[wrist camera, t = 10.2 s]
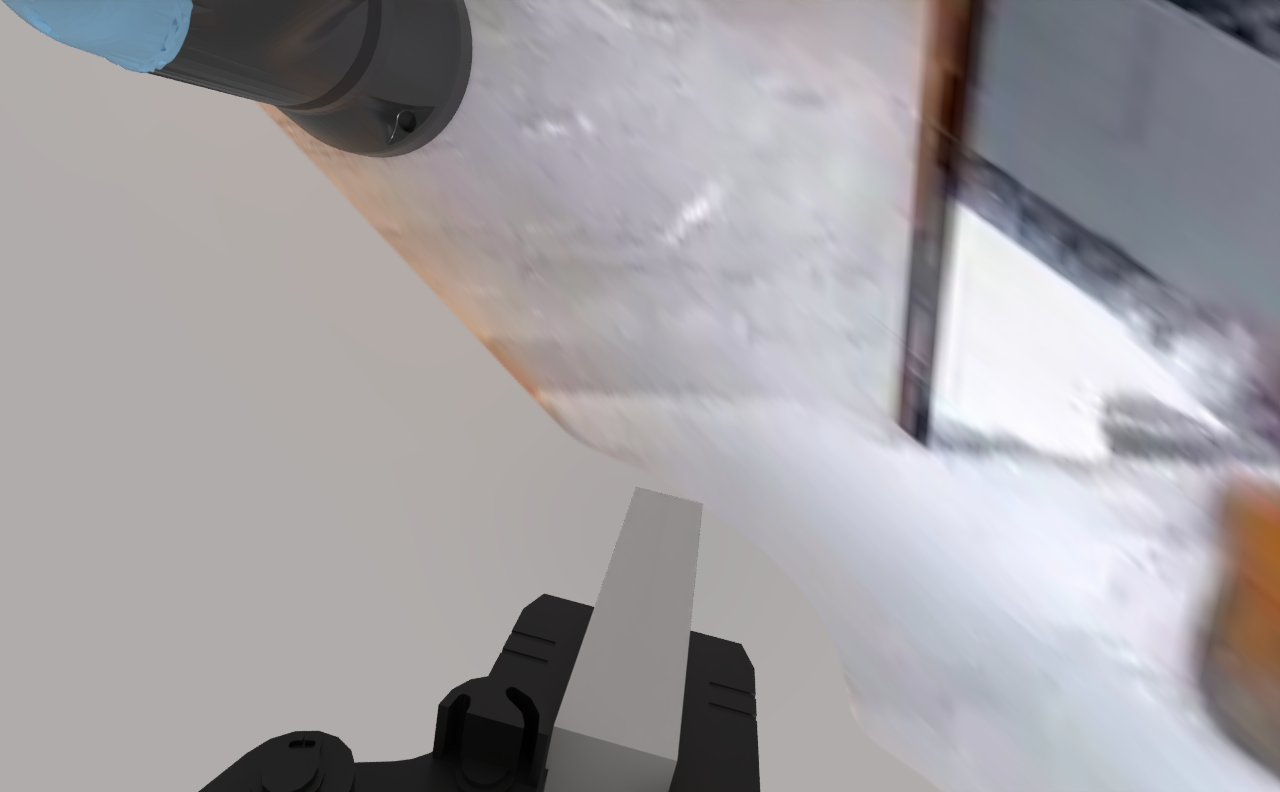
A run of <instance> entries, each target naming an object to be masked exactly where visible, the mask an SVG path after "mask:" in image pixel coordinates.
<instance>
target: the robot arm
mask: <svg viewBox="0 0 1280 792" xmlns="http://www.w3.org/2000/svg"><path fill="white" fill-rule="evenodd" d="M2 1H3V2H4V3H5V4H6V5H7V6H8V7H9V8H11V10H13V11H14V12H15V13H16V14H17V15H18V16H19V17H20V18H22V19H23V20H24V21H26V22H27V23H28V24H30V25H31V26H32V27H34V28H35V29H37V30H39V31H40V32H42V33H44V34H45V35H47V36H49V37H51V38H53V39H55V40H56V41H59V42H61V43H63V44H66V45H68V46H71V47H74V48H77V49H80V50H83V51H86V52H89V53H92V54H95V55H98V56H101V57H103V58H106V59H107V60H109V61H110V62H112V63H114V64H116V65H119V66H121V67H123V68H125V69H127V70H130V71H135V72H140V73H149V74H153V75H157V76H161V77H165V78H169V79H173V80H177V81H181V82H184V83H188V84H193V85H196V86H200V87H205V88H208V89H212V90H216V91H220V92H224V93H228V94H232V95H235V96H239V97H244V98H247V99H251V100H255V101H259V102H263V103H267V104H271V105H274V106H275V107H277V108H278V109H279V110H280V111H281V112H283V113H284V114H285V115H286V116H288V117H289V118H290V119H291V120H292V121H294V122H295V123H296V124H297V125H299V126H300V127H301V128H302V129H303V130H305V131H306V132H307V133H309V134H310V135H312V136H313V137H315V138H316V139H318V140H320V141H321V142H323V143H325V144H327V145H330V146H332V147H334V148H337V149H339V150H342V151H346V152H350V153H354V154H359V155H364V156H369V157H393V156H399V155H403V154H406V153H409V152H412V151H414V150H416V149H418V148H420V147H422V146H424V145H425V144H427V143H428V142H430V141H431V140H432V139H434V138H435V137H436V136H437V135H438V134H439V133H440V132H441V131H442V130H443V129H444V128H445V127H446V126H447V124H448V123H449V122H450V121H451V119H452V118H453V116H454V115H455V113H456V111H457V109H458V108H459V106H460V103H461V101H462V99H463V96H464V94H465V91H466V88H467V85H468V81H469V76H470V70H471V63H472V35H471V27H470V21H469V17H468V13H467V9H466V6H465V3H464V0H2ZM702 506H703V504H702V503H698V502H694V501H690V500H686V499H682V498H678V497H674V496H670V495H666V494H662V493H658V492H654V491H650V490H646V489H642V488H638V487H636V488H635V491H634V494H633V497H632V500H631V503H630V506H629V509H628V511H627V514H626V518H625V520H624V523H623V526H622V529H621V532H620V535H619V538H618V541H617V543H616V546H615V549H614V552H613V555H612V558H611V561H610V564H609V567H608V570H607V573H606V575H605V579H604V581H603V584H602V587H601V590H600V593H599V596H598V599H597V602H596V604H595V607H592V606H589V605H585V604H581V603H577V602H574V601H570V600H566V599H562V598H559V597H554V596H551V595H547V594H543V595H542V596H540V597H539V598H537V599H536V600H535V601H533V602H532V603H531V604H529V605H528V606H527V607H525V608H524V609H523V610H522V612H521V615H520V616H519V618H518V620H517V622H516V624H515V626H514V628H513V630H512V633H511V635H510V636H509V637H508V640H507V641H506V643H505V645H504V647H503V650H502V653H500V655H499V657H498V659H497V660H496V662H495V664H494V666H493V668H492V670H491V672H490V674H489V676H487V677H482V678H476V679H471V680H469V681H467V682H465V683H463V684H461V685H459V686H458V687H456V688H454V689H452V690H451V691H450V692H449V694H448V695H447V696H446V697H445V698H444V699H443V700H442V701H441V702H440V704H439V706H438V714H437V723H436V731H435V740H434V747H433V752H431V753H429V754H426V755H423V756H420V757H417V758H414V759H410V760H402V761H391V762H358V763H354V759H353V755H352V751H351V750H350V749H349V748H348V747H347V746H346V745H345V744H344V743H343V742H342V741H341V740H340V739H339V738H338V737H336V736H332V735H330V734H327V733H324V732H321V731H295V732H291V733H288V734H285V735H282V736H278V737H275V738H272V739H270V740H268V741H266V742H264V743H263V744H261V745H259V746H258V747H256V748H254V749H253V750H251V751H250V752H248V753H247V754H245V755H244V756H243V757H241V758H240V759H239V760H238V761H236V762H235V763H234V764H233V765H232V766H230V767H229V768H228V769H226V770H225V771H224V772H223V773H221V774H220V775H219V776H218V777H216V778H215V779H214V780H213V781H211V782H210V783H209V784H207V785H206V786H205V787H204V788H203V789H201V790H200V791H199V792H760V777H759V756H758V735H757V721H756V716H757V714H756V699H755V672H754V667H753V665H752V663H751V661H750V660H749V658H748V656H747V654H746V652H745V650H744V648H743V646H742V644H739V643H735V642H732V641H728V640H724V639H720V638H717V637H713V636H709V635H705V634H702V633H698V632H694V631H690V626H691V617H692V607H693V597H694V587H695V577H696V567H697V557H698V547H699V536H700V526H701V516H702Z"/></svg>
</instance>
